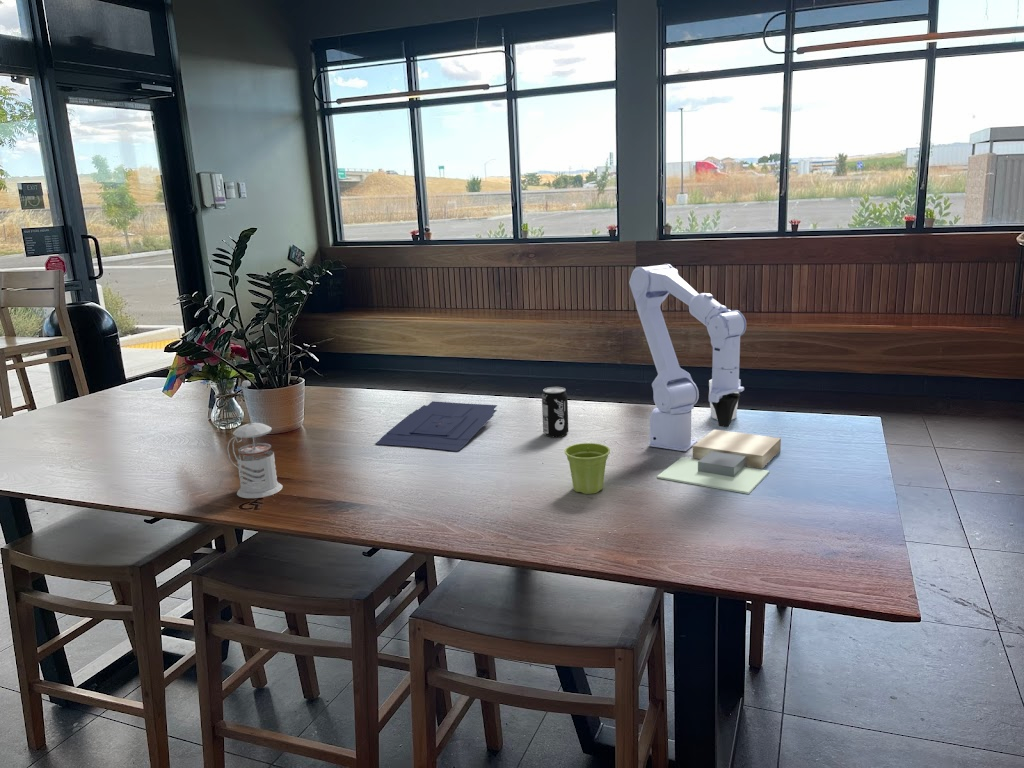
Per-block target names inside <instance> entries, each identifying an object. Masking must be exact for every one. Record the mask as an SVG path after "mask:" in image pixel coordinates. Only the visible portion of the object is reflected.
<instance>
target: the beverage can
mask: <svg viewBox="0 0 1024 768" xmlns="http://www.w3.org/2000/svg"><path fill="white" fill-rule="evenodd" d="M542 391H543V392H542V394H541V409H542V411H541V413H542V432H543V434H544V435H545V436H547V437H549V438H561V437H566V436H567V434H568V433H569V410H568V408H569V406H568V399H569V398H568V393H567V392H566V388H565V387H561V386H549V387H545V388H544V389H542Z"/></svg>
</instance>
